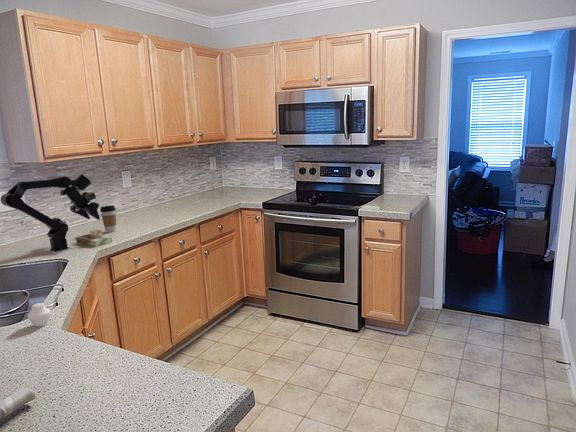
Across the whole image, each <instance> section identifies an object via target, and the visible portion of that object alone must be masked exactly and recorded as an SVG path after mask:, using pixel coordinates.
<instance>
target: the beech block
mask: <svg viewBox="0 0 576 432" xmlns="http://www.w3.org/2000/svg"><path fill="white" fill-rule="evenodd" d="M89 234H91V238H92V239H98V238H101V237H103V236H102V235H103V230H102V229H100V228H99V229H98V228H96V229H92V230H90V231H89Z"/></svg>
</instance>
